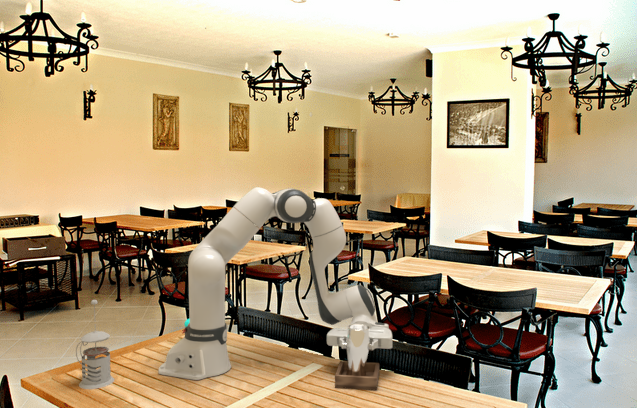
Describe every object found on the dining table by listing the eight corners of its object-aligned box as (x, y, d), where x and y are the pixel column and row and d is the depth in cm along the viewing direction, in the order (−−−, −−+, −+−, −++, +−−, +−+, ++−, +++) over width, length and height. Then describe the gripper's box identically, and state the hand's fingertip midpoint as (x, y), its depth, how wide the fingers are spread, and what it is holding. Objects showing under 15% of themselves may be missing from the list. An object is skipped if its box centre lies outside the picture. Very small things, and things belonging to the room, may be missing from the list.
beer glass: (366, 382, 144) (369, 331, 143) (342, 379, 145) (345, 328, 145) (369, 373, 151) (371, 324, 150) (346, 371, 152) (348, 322, 152)
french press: (98, 390, 143) (95, 304, 142) (66, 386, 147) (63, 302, 145) (121, 377, 152) (119, 297, 151) (91, 373, 156) (88, 294, 155)
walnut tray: (335, 387, 143) (334, 375, 143) (340, 371, 155) (340, 360, 155) (376, 390, 141) (376, 378, 141) (379, 374, 153) (379, 363, 153)
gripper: (329, 321, 162) (322, 334, 149) (393, 324, 159) (391, 338, 145) (329, 340, 162) (322, 355, 149) (393, 343, 159) (391, 359, 145)
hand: (357, 347), depth 147 cm, fingers closed on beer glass, 7 cm apart
